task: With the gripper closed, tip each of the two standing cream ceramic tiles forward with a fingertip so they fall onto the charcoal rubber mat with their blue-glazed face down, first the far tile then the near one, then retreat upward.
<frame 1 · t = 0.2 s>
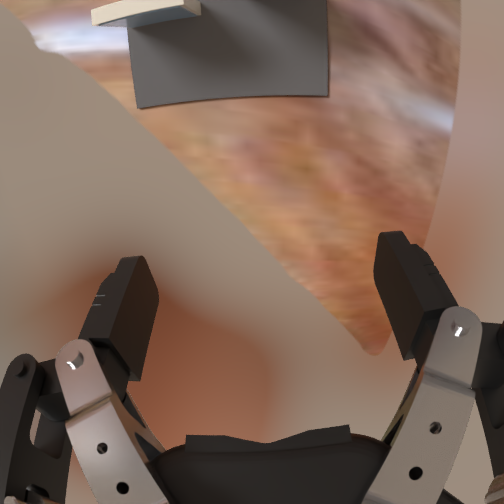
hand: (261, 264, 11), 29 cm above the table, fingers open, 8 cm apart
mat: (225, 22, 27), on the table
tile a: (164, 14, 26), resting on mat
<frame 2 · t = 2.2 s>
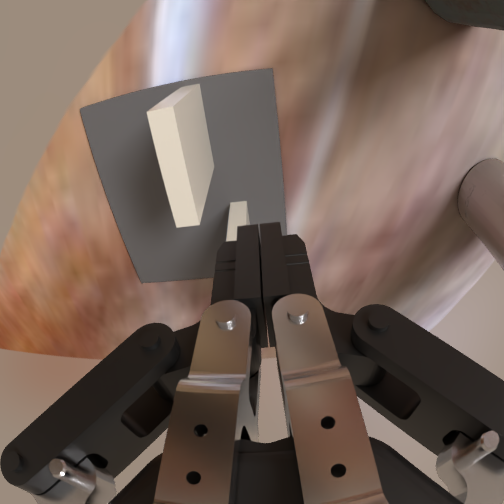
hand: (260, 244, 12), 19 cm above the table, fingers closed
tile b: (243, 235, 33), resting on mat
mat: (191, 192, 31), on the table
tile a: (198, 127, 26), resting on mat
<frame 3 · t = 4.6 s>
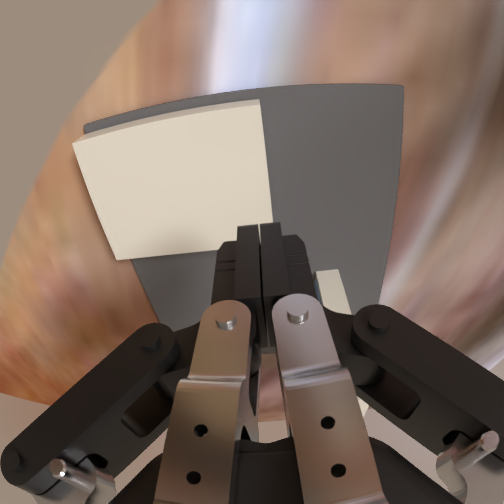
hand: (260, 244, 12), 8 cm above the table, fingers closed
tile b: (324, 308, 24), resting on mat
mat: (260, 256, 22), on the table
tile a: (268, 174, 17), point 1 cm above the table, tilted 90°, touching mat
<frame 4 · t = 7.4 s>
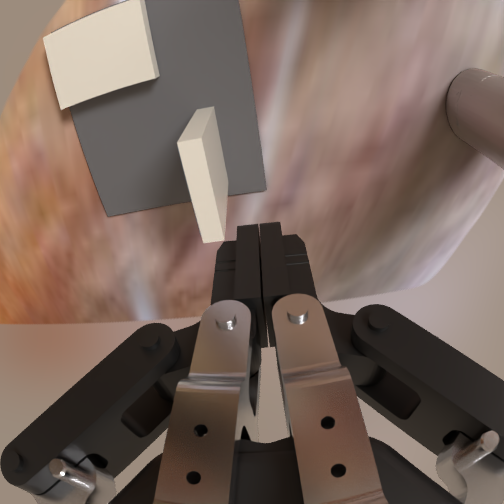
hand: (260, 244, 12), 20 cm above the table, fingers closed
tile b: (213, 147, 29), resting on mat
mat: (156, 102, 26), on the table
tile a: (149, 36, 21), point 1 cm above the table, tilted 90°, touching mat
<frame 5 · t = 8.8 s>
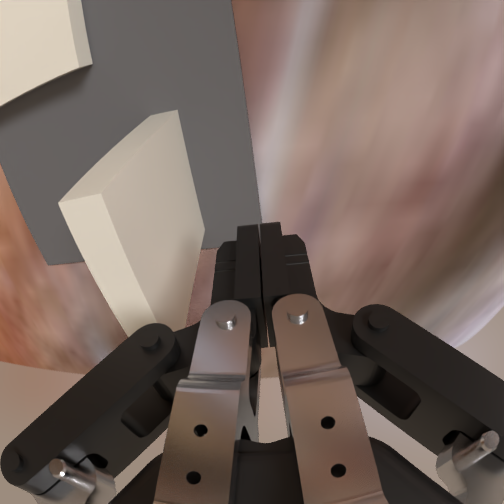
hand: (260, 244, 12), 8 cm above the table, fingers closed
tile b: (178, 176, 18), resting on mat
mat: (91, 105, 16), on the table
tile a: (74, 3, 10), point 1 cm above the table, tilted 90°, touching mat
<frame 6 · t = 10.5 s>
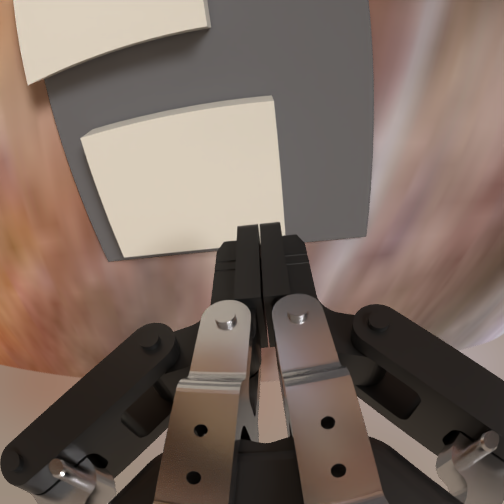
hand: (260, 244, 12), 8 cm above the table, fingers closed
tile b: (279, 171, 16), point 1 cm above the table, tilted 90°, touching mat
mat: (199, 75, 14), on the table
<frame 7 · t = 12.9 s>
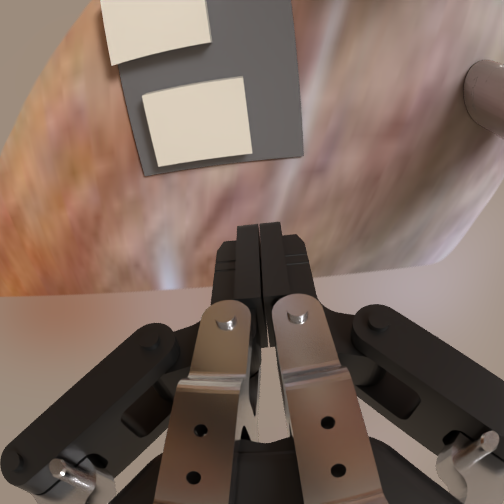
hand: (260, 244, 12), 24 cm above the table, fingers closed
tile b: (247, 114, 30), point 1 cm above the table, tilted 90°, touching mat
mat: (206, 66, 27), on the table
tile a: (206, 5, 22), point 1 cm above the table, tilted 90°, touching mat
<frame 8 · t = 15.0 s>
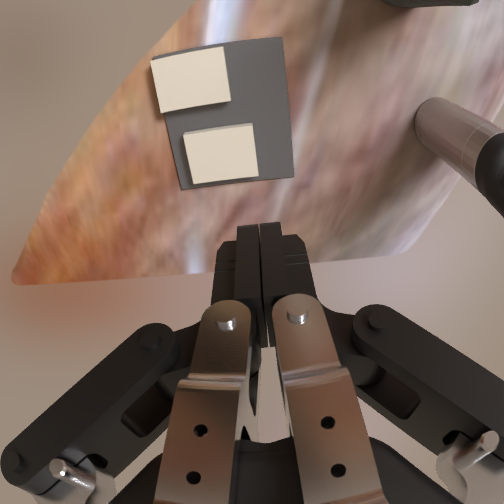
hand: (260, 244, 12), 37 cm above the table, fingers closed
tile b: (255, 149, 45), point 1 cm above the table, tilted 90°, touching mat
mat: (226, 115, 43), on the table
tile a: (227, 73, 38), point 1 cm above the table, tilted 90°, touching mat
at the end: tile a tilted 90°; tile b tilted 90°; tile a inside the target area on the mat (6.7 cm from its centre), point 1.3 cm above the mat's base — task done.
